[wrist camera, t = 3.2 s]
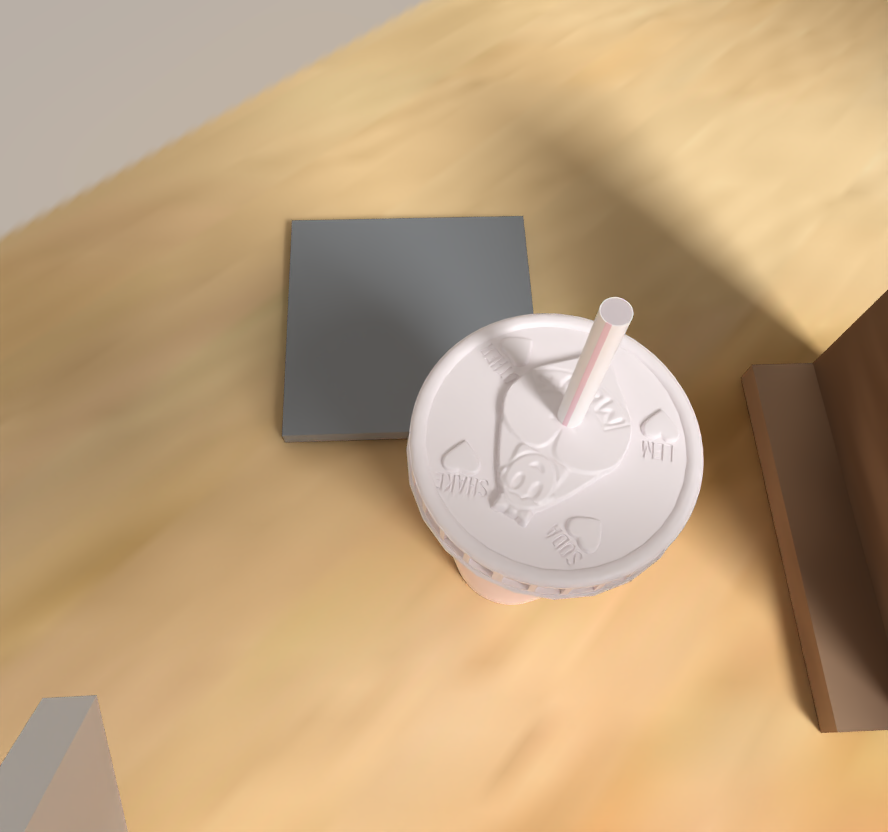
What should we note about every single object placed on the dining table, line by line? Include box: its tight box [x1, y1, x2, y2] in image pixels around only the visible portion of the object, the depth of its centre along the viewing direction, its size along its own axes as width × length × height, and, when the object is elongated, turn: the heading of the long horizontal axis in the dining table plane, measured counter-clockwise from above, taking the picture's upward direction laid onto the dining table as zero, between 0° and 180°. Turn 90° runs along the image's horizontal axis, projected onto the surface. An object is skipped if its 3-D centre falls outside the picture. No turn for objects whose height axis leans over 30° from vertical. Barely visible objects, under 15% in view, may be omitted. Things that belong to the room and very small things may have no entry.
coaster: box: [282, 216, 533, 442], centre depth 28 cm, size 9×9×1 cm
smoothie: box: [406, 297, 703, 605], centre depth 18 cm, size 6×6×14 cm
